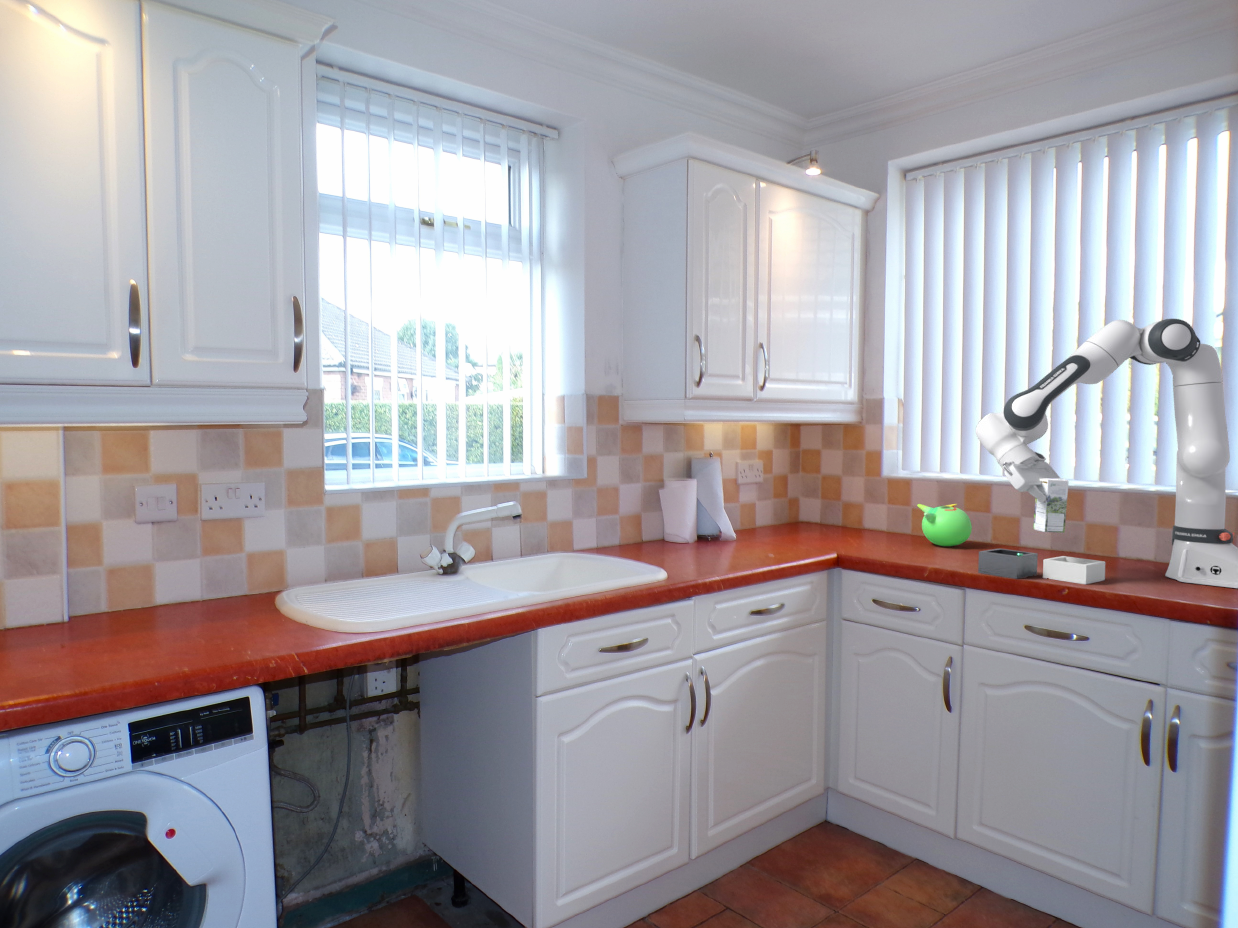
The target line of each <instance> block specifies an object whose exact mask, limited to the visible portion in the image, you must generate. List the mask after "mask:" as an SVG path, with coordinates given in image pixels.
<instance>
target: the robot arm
mask: <svg viewBox="0 0 1238 928" xmlns="http://www.w3.org/2000/svg"><path fill="white" fill-rule="evenodd" d="M1128 359H1130V360H1133V361H1135V362H1137V363H1138V364H1142V365H1148V366H1152V365H1158V364H1164V363H1165V364H1167V366H1168V368H1169V369H1170V371H1171V375H1172V392H1173V406H1174V420H1175V429H1176V441H1177V443H1176V444H1177V450H1176V451H1177V452H1176V476H1175V510H1174V511H1175V513H1174V525H1173V526H1172V530H1171V546H1172V549H1171V550H1172V551H1171V556H1170V561H1169V565H1168V567H1167V570H1166V572H1165V574H1164V575H1165V577H1167V578H1170V579H1173V580H1177V581H1178V582H1182V583H1188V584H1196V585H1204V586H1205V585H1207V586H1215V587H1223V588H1224V587H1225V588H1234V589H1238V547H1237V546H1236V545H1235V544H1233V543H1234V537H1235V533H1236V532H1232V531H1230V530H1228V529H1226V527H1225V526H1226V525H1225V524H1226V506H1227V505H1226V504H1227V503H1226V502H1227V500H1226V499H1227V496H1226V495H1227V494H1226V468H1227V467H1228V465H1229V464H1230V460H1231V454H1230V453H1231V452H1230V443H1229V442H1230V441H1229V435H1228V432H1229V431H1228V427H1227V416H1226V411H1225V410H1226V408H1225V407H1226V406H1225V394H1224V383H1223V382H1224V380H1223V372H1222V367H1221V363H1220V362H1221V361H1220V358H1219V355H1218V351H1217V350H1216V348H1214V346H1212V345H1209V344H1206V343H1202V342H1201V340H1200V338H1199V337H1198V335H1197V334H1196V332H1195V329H1194V328H1193V327H1192V326H1191V324H1190V323H1189V322H1187V321H1185V320H1183V319H1179V318H1166V319H1163V320H1160V321H1159V320H1158V321H1156V322H1152V323H1150V324H1148V325H1146V326H1144V327H1140V328H1139V327H1137V326H1136V325H1134V323H1132V322H1130V321H1127V320H1124V319H1115V320H1112V321H1111V322H1109V323H1107V324H1105V325H1104V326H1102V327H1101V328H1100V329H1098V330H1097V331H1096V332H1095V333H1093V334H1092V335H1091V336H1090V337H1088V338H1087V340H1085V341H1084V342H1083V343H1082V344H1081V345H1080V346H1079V347H1078V348H1077V349H1076V350H1074V351H1073V353H1072V354H1071V355H1070V356H1068V357H1067V358H1065V360H1064V361H1062V362H1061V363H1059V364H1058V365H1057V366H1055V367H1054V369H1052V370H1051V371H1050V372H1048V374H1046V375H1045V376H1044V377H1042V378H1041V379H1040V380H1038V382H1037V383H1035V384H1034V385H1033V386H1031V387H1030V388H1027V389H1026V390H1024V391H1023V390H1022V391H1021V392H1018V393H1016V394H1014V395H1012V396H1011V397H1010V398H1009V399H1008V400H1007V401H1006V403H1005V405H1004V406H1003V407H1004V408H1003V412H990V413H988V414H986V415H984V416H983V417H982V418H981V419H980V420H979V421H978V423H977V425H976V427H975V436H976V437H977V439H978V440H979V442H980V443H981V445H982V446H983V447H984V448H985V450H986V451H987V452H988V454H990V455H991V456H993V457H994V458H995V460H996V462H997V464H998V465H999V466H1000V467H1001V468H1002V469H1003V470H1004V475H1005V478H1006V479H1007V480H1008V482H1009V483H1010V484H1011V485H1012V487H1014V489H1015V490H1016V491H1018V492H1020V493H1021V492H1023V493H1025V492H1028V493H1029V494H1030V495H1031V496H1032V497H1034V498H1037V499H1038V500H1039V501H1040V502H1041V503H1042V502H1046V501H1047V500H1048V498H1047V497H1046V495H1045V494H1042V493H1041V492H1040V491H1039V490H1038V488H1037V485H1041V484H1042V482H1041V480H1040V478H1061V477H1060V475H1059V474H1058V473H1057V472H1056V470H1054V468H1053V467H1052V465H1050V464H1049V463H1048V462H1047V461H1046V459H1047V458H1046V457H1045V456H1044V455H1043V454H1042V453H1039V452H1037V451H1035V450H1034V449H1031V448H1030V447H1029V446H1028V445H1029V444H1031V443H1033V442H1035V441H1037V440H1039V439H1041V438H1042V437H1043V436H1044V435H1045V434H1046V432H1047V431H1048V428H1049V421H1048V418H1047V417H1048V416H1047V410H1048V408H1049V406H1050V405H1051V404H1052V403H1053V402H1054V401H1055V400H1056V399H1057V398H1059V397H1060V396H1061V395H1062V394H1063V393H1065V392H1066V391H1067V390H1069V388H1071V387H1073V386H1074V385H1076V384H1079V383H1080V384H1083V385H1096V384H1098V383H1101V382H1102V381H1103V380H1105V379H1106V378H1108V377H1109V376H1111V375H1112V374H1113V373H1114V372H1115V371H1116V370H1117V369H1119V367H1120V366H1121V365H1122V364H1123V363H1124V362H1126V361H1127V360H1128Z"/></svg>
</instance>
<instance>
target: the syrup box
mask: <svg viewBox="0 0 1238 928" xmlns="http://www.w3.org/2000/svg"><path fill="white" fill-rule="evenodd" d="M1040 480H1041V482H1042V484H1041V485H1037V488H1038V490H1039V491H1040V492H1041V493H1042V494H1045V495H1046V497H1047V498H1048V500H1047V501H1046V502H1042V503H1041V502H1040V501H1039V500H1038V499H1037V498H1035V497H1034V498H1035V500H1034V513H1033V525H1032V526H1033V530H1035V531H1039V532H1043V533H1060V534H1061V533H1062V534H1063V533H1065V531H1066V519H1067V508H1068V494H1069V493H1068V492H1069V479H1064V478H1061V477H1060V478H1040Z"/></svg>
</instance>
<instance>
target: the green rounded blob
mask: <svg viewBox="0 0 1238 928" xmlns="http://www.w3.org/2000/svg"><path fill="white" fill-rule="evenodd" d="M957 505H958V503H953V504H946V505H938V506H937V507H932V506H931V507H930V506H928V505H925V504H921V503H918V504H917V508H919V509H920V510H921V511H922V512H923V515H924V516H923V517H922V520H921V529H922V532H923V535H924V537H925V538H926V539H927V540H928V541H929V542H931V543H933V544H934V545H936V546H941V547H955V546H959V545H962V544H963V543H966V541H967V540H968V539H969V538H970V536H971V534H972V529H973V526H972V522H971V521H972V520H971V518H970V517H969V515H968V514H967V513H966V512H965V511H964V510H962V509H961V508H958V507H956V506H957Z"/></svg>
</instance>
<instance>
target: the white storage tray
mask: <svg viewBox="0 0 1238 928" xmlns="http://www.w3.org/2000/svg"><path fill="white" fill-rule="evenodd" d="M1042 561H1043V562H1042V563H1043V566H1042V578H1043V579H1047V578H1049V580H1056V581H1060V582H1061V581H1062V582H1069V583H1075V584H1080V585H1090V584H1093V583H1098V582H1103V581H1105V579H1106V561H1104V560H1103V561H1102V560H1096V559H1088V558H1081V557H1073V556H1066V555H1061V556H1056V557H1050V558H1044V559H1043V560H1042Z"/></svg>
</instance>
